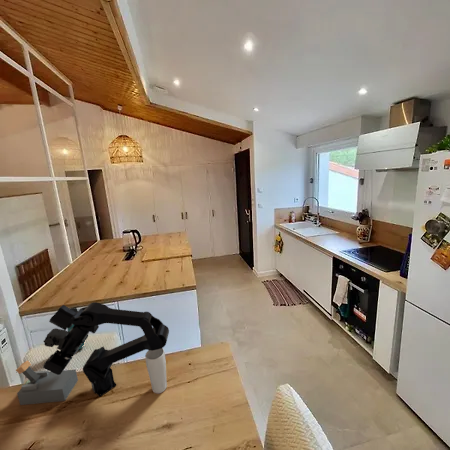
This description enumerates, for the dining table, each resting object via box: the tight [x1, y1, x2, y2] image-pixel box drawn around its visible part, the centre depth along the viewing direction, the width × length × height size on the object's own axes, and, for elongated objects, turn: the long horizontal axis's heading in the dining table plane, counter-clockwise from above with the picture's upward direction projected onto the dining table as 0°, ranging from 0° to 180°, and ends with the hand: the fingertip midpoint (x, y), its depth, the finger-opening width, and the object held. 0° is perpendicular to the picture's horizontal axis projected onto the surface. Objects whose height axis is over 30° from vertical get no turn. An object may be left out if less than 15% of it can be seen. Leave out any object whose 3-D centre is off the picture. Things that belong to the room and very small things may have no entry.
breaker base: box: [16, 368, 79, 406], centre depth 92 cm, size 16×9×6 cm, turn 93°
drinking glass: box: [144, 347, 168, 394], centre depth 91 cm, size 7×7×15 cm
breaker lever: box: [15, 360, 40, 384], centre depth 91 cm, size 2×3×8 cm
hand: (56, 366), depth 91 cm, fingers closed
